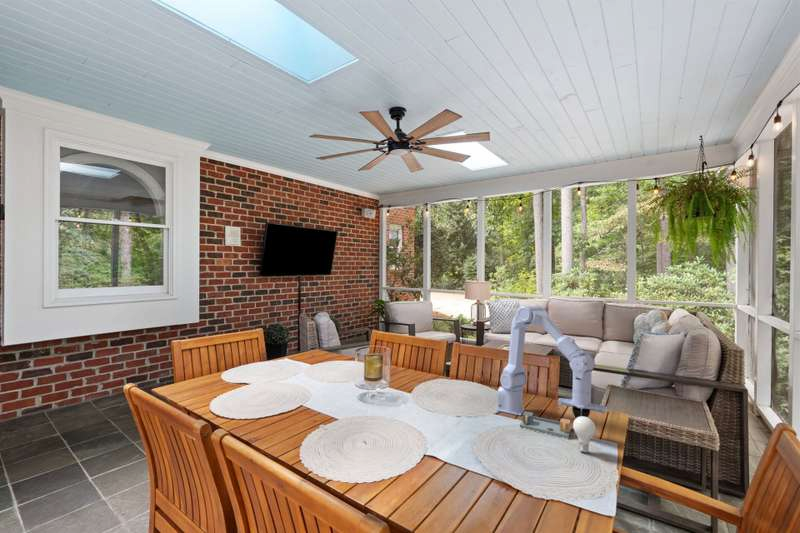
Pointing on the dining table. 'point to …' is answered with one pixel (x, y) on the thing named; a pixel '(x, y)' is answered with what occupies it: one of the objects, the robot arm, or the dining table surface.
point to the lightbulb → (584, 431)
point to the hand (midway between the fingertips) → (580, 429)
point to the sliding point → (565, 425)
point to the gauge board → (542, 425)
